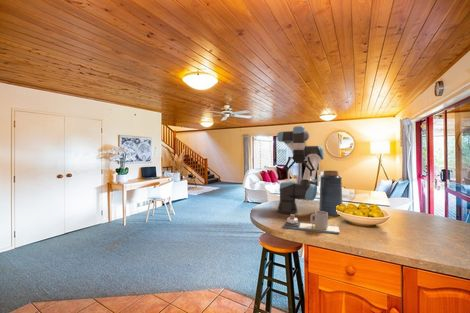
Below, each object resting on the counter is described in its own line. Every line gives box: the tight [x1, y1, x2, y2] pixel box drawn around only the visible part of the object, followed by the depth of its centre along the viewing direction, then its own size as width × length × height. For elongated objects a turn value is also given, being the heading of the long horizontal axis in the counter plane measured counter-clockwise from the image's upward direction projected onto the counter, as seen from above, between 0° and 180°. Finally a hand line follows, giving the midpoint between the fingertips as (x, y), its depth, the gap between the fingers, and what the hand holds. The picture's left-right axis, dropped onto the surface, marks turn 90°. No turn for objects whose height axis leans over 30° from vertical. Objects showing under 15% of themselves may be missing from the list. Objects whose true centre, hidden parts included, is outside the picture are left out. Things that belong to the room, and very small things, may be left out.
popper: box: [286, 214, 299, 224], centre depth 138 cm, size 6×6×4 cm
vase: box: [318, 170, 343, 217], centre depth 165 cm, size 16×16×32 cm
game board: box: [283, 220, 340, 235], centre depth 134 cm, size 11×31×2 cm, turn 69°
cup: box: [310, 210, 329, 229], centre depth 132 cm, size 7×10×9 cm
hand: (298, 180), depth 149 cm, fingers open, 13 cm apart
